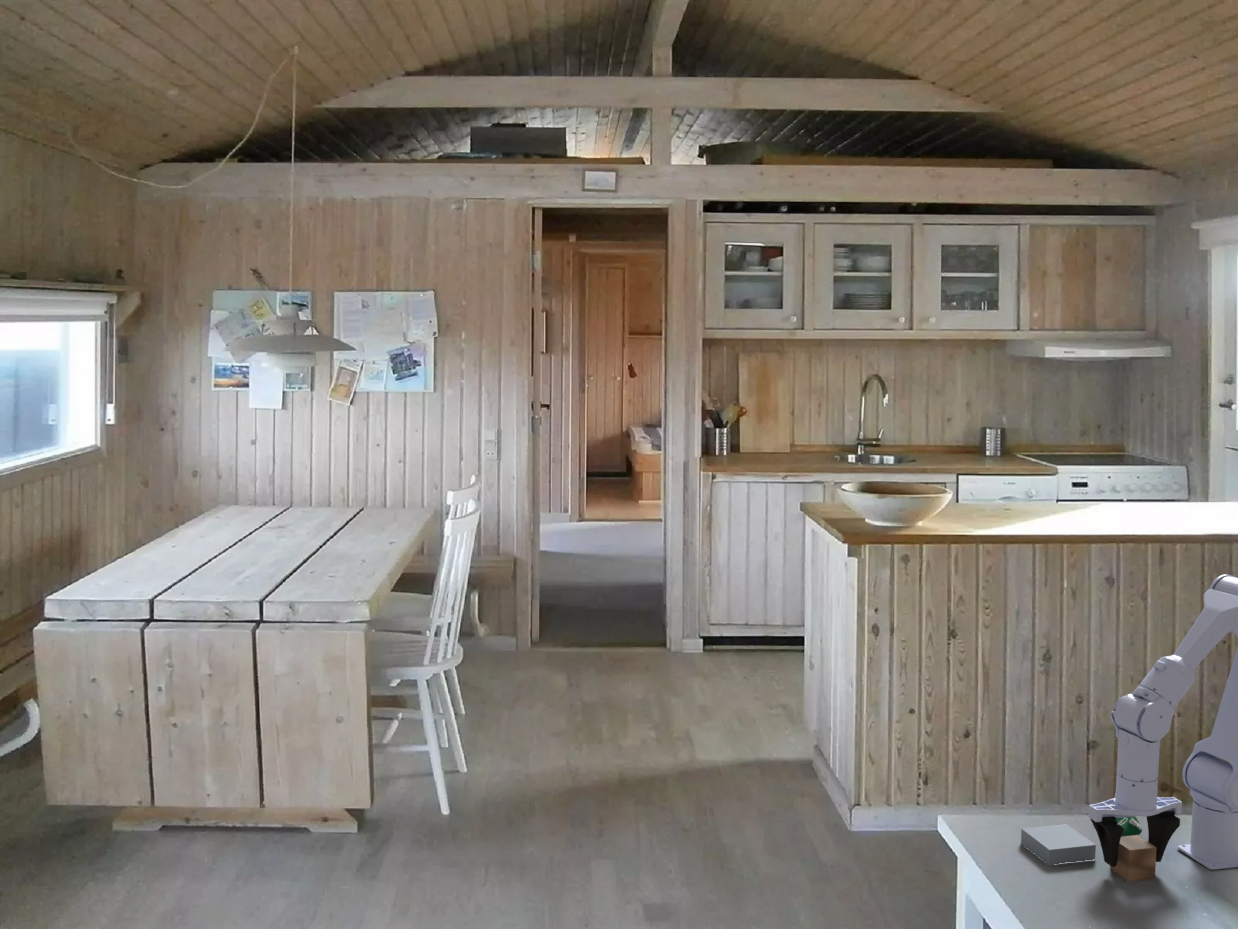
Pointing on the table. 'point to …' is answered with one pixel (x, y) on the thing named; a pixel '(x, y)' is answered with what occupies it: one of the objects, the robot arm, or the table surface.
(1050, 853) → the slate block
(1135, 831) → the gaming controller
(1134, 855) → the walnut block
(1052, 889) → the table surface
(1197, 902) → the table surface
